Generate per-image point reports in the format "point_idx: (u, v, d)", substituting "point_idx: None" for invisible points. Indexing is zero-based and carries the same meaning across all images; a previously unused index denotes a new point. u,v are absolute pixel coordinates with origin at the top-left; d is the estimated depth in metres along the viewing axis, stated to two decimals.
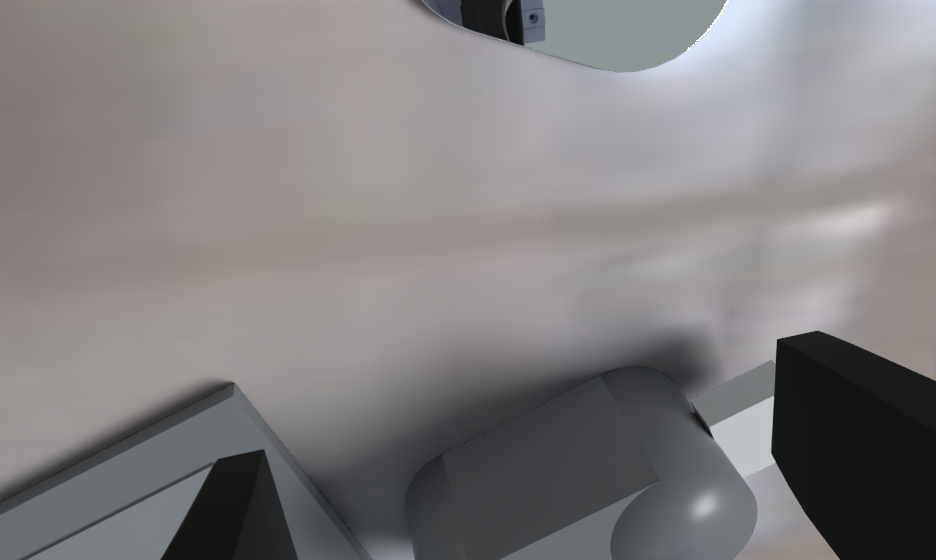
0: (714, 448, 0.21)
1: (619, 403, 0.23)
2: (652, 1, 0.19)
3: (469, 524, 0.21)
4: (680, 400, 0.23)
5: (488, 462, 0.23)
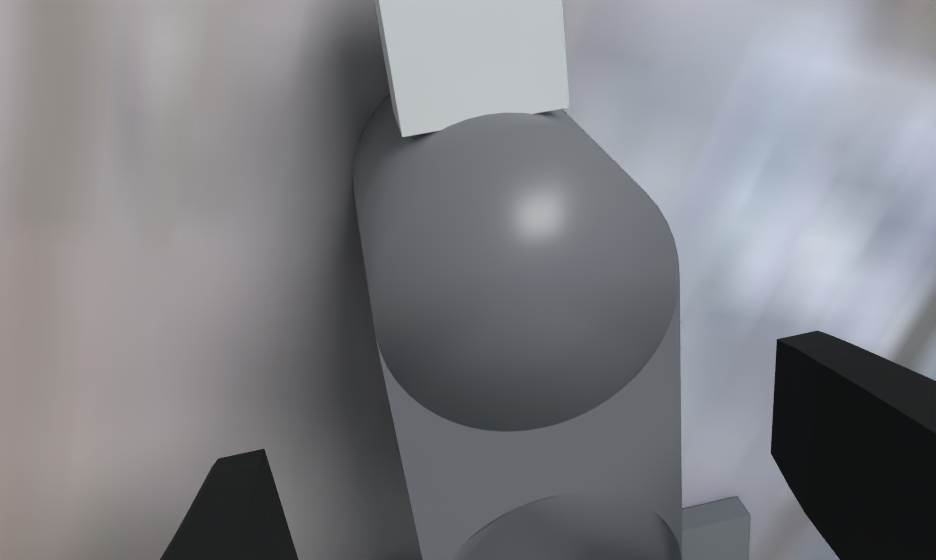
0: (418, 164, 0.10)
1: None
2: None
3: None
4: None
5: None
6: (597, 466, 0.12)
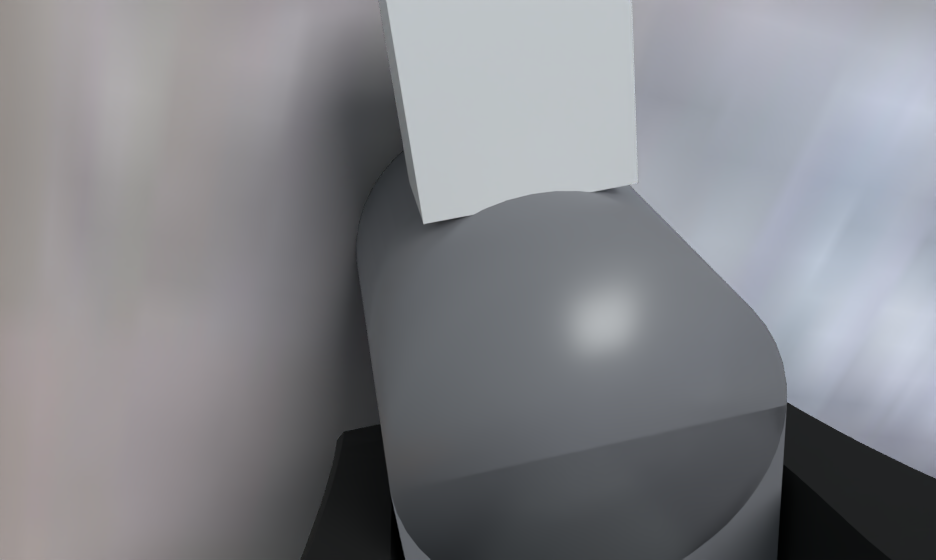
0: (446, 265, 0.08)
1: None
2: None
3: None
4: None
5: None
6: None
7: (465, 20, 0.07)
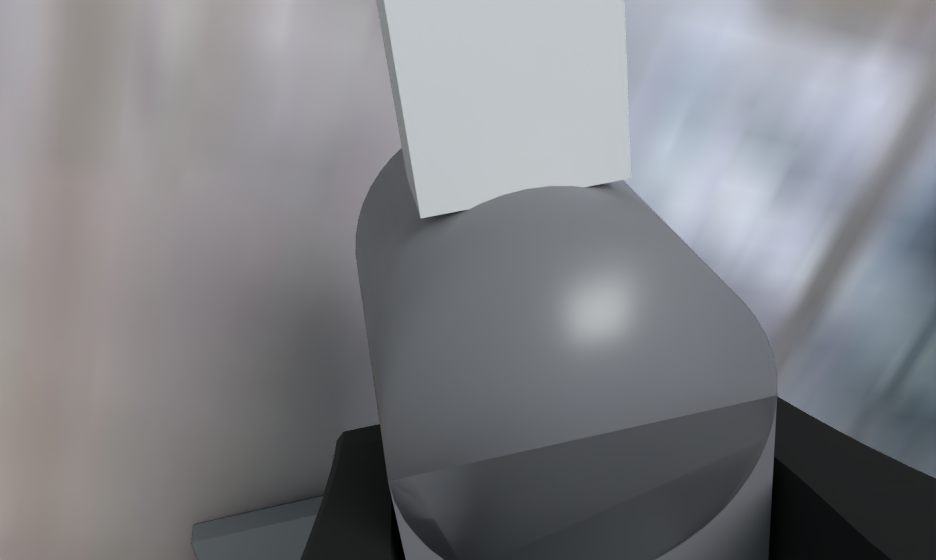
0: (443, 258, 0.08)
1: None
2: None
3: None
4: None
5: None
6: None
7: (461, 17, 0.08)
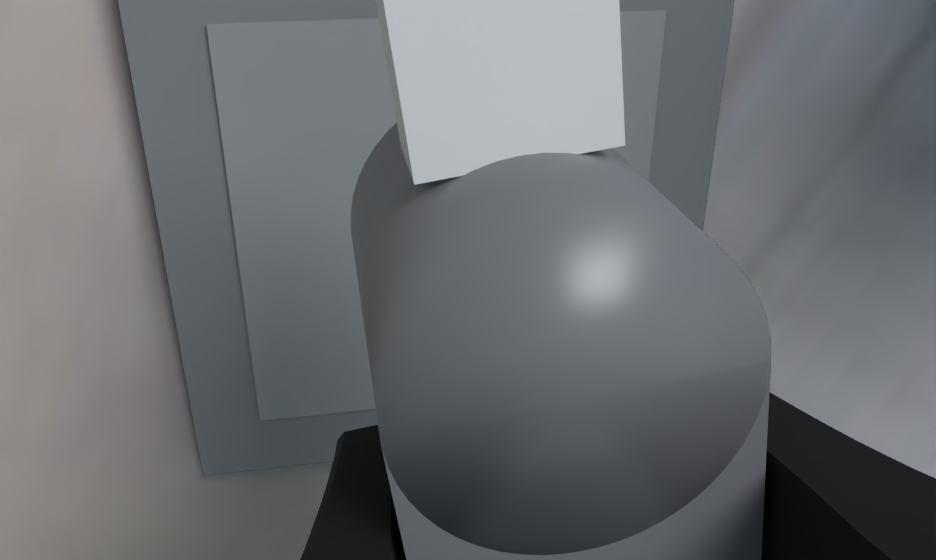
0: (436, 222, 0.08)
1: (359, 286, 0.10)
2: None
3: None
4: None
5: None
6: None
7: None
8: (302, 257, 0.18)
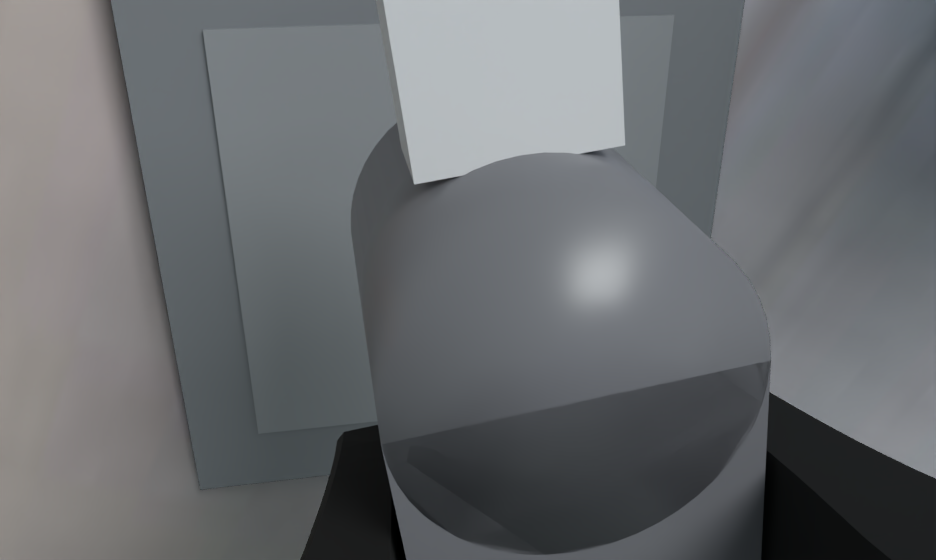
0: (436, 222, 0.08)
1: None
2: None
3: None
4: None
5: None
6: None
7: None
8: (301, 267, 0.18)
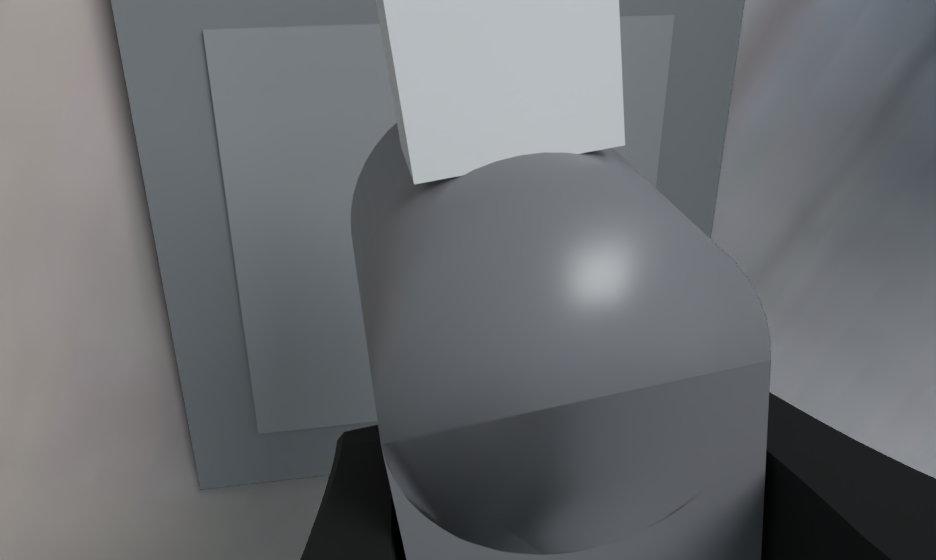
0: (436, 222, 0.08)
1: None
2: None
3: None
4: None
5: None
6: None
7: None
8: (301, 267, 0.18)
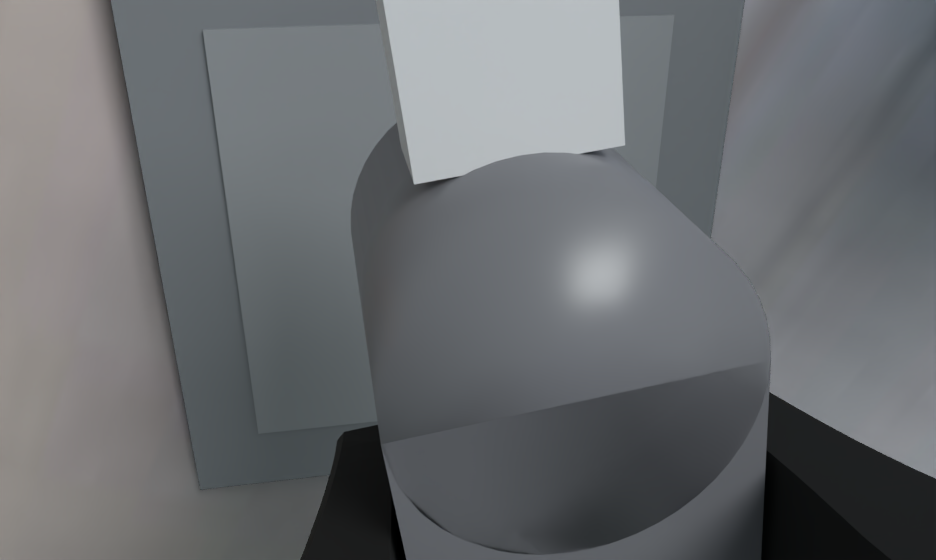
0: (436, 222, 0.08)
1: None
2: None
3: None
4: None
5: None
6: None
7: None
8: (301, 267, 0.18)
